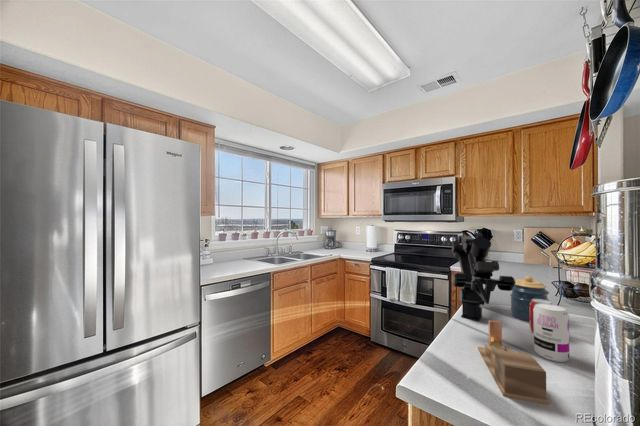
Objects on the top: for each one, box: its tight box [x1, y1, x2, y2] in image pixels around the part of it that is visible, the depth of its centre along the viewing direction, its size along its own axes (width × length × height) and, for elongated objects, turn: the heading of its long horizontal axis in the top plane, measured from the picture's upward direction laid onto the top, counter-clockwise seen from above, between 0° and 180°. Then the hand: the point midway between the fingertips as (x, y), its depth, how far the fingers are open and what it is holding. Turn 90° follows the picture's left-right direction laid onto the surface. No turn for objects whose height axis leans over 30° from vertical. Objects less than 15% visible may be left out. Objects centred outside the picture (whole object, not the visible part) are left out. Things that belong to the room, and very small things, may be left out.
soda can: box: [529, 299, 553, 333], centre depth 95 cm, size 7×7×12 cm
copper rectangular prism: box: [488, 319, 505, 351], centre depth 75 cm, size 13×3×9 cm, turn 161°
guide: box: [477, 344, 550, 405], centre depth 71 cm, size 23×9×7 cm, turn 161°
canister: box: [510, 275, 550, 322], centre depth 111 cm, size 13×13×18 cm
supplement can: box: [533, 303, 570, 363], centre depth 80 cm, size 8×8×15 cm
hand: (487, 303), depth 88 cm, fingers closed
